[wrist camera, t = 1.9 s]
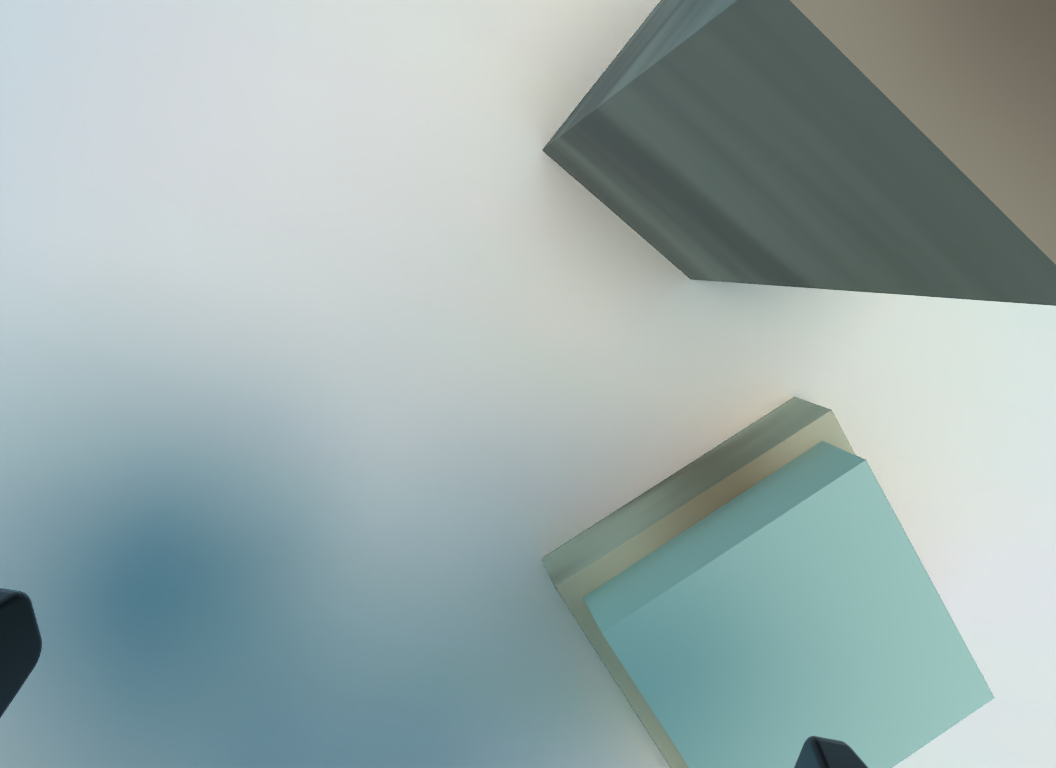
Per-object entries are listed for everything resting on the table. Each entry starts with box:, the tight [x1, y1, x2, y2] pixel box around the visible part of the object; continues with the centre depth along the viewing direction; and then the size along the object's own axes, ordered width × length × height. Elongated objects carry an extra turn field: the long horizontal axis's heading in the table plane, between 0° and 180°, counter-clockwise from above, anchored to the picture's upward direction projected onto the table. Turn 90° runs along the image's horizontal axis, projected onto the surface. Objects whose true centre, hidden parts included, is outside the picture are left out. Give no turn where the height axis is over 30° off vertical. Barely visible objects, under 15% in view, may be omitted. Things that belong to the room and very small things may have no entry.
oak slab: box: [542, 397, 855, 768], centre depth 23 cm, size 8×8×2 cm
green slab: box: [583, 441, 994, 768], centre depth 20 cm, size 7×7×2 cm
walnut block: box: [543, 0, 1056, 306], centre depth 15 cm, size 5×5×13 cm
